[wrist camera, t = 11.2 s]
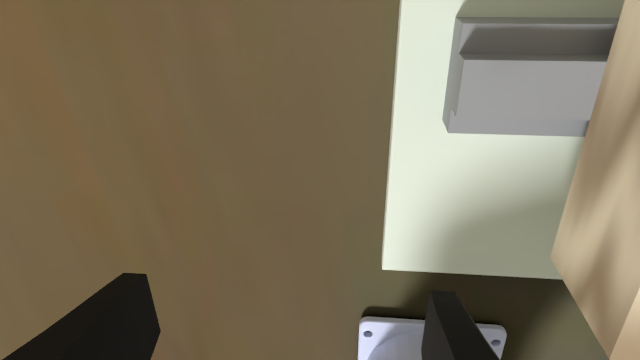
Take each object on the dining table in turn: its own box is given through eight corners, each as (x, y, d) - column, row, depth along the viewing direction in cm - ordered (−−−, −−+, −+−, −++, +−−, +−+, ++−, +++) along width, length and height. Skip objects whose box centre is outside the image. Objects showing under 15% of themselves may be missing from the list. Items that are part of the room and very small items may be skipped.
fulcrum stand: (711, 274, 22) (767, 329, 18) (381, 257, 23) (383, 305, 20) (1005, -292, 12) (1221, -372, 9) (418, -262, 14) (433, -322, 11)
